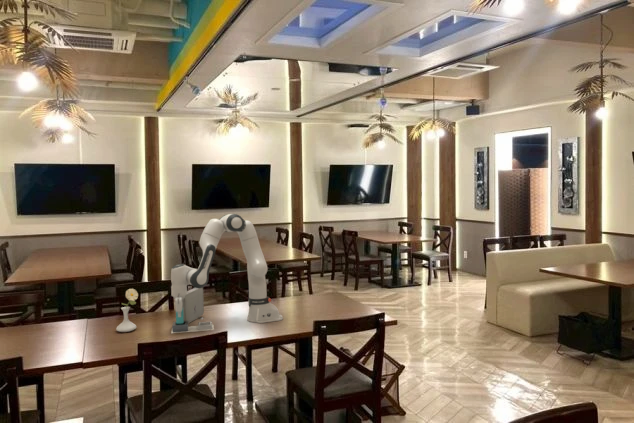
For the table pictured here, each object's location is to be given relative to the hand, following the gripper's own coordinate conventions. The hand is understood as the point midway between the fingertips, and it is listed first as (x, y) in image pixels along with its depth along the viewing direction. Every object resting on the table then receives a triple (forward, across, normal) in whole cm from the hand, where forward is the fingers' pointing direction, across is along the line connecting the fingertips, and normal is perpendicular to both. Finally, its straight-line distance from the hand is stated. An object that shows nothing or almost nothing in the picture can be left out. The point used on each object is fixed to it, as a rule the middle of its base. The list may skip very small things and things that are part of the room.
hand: (179, 315), depth 286 cm
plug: (+4, 0, 0) cm, 4 cm away
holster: (+8, 0, -14) cm, 16 cm away
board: (+10, 0, -7) cm, 12 cm away
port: (+8, 0, 0) cm, 8 cm away
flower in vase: (+10, +13, +31) cm, 35 cm away
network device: (+10, +21, -6) cm, 24 cm away
